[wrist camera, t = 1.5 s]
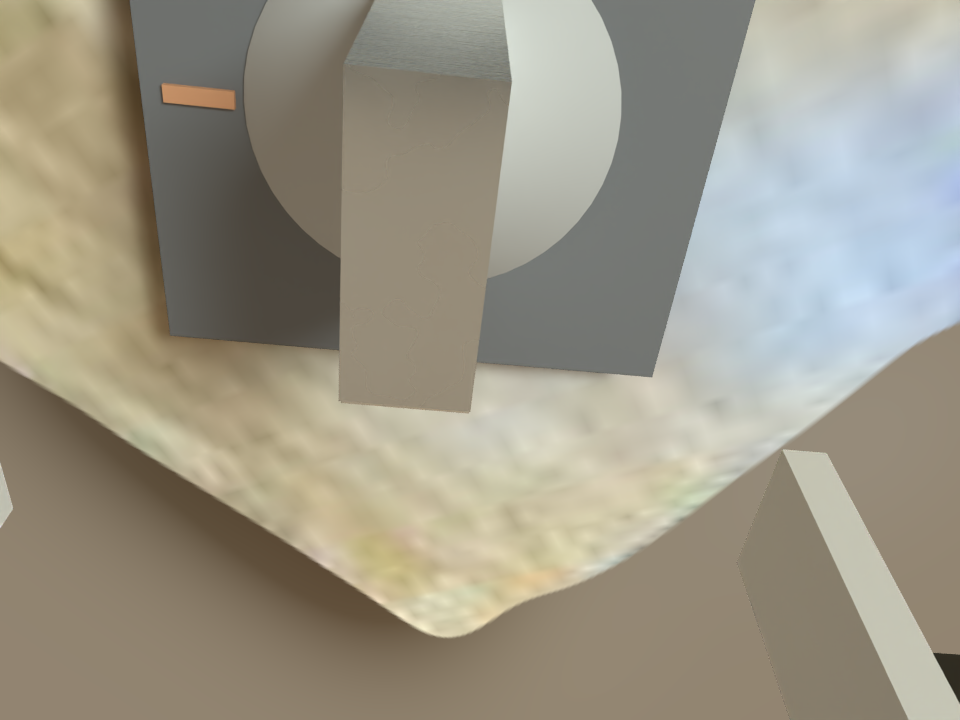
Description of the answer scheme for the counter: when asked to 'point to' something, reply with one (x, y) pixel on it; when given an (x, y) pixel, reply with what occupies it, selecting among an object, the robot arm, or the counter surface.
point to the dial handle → (419, 198)
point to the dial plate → (522, 186)
